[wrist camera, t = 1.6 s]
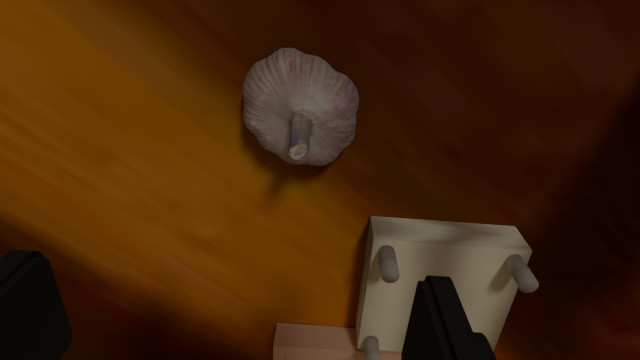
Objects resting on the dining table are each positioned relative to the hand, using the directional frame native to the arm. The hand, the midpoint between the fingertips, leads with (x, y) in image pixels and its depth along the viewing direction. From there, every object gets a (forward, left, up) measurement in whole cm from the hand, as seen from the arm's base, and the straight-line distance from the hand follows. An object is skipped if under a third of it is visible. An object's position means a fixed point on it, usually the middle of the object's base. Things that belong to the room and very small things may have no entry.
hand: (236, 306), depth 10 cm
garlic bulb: (0, 0, -18) cm, 18 cm away
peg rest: (-11, +14, -18) cm, 25 cm away
